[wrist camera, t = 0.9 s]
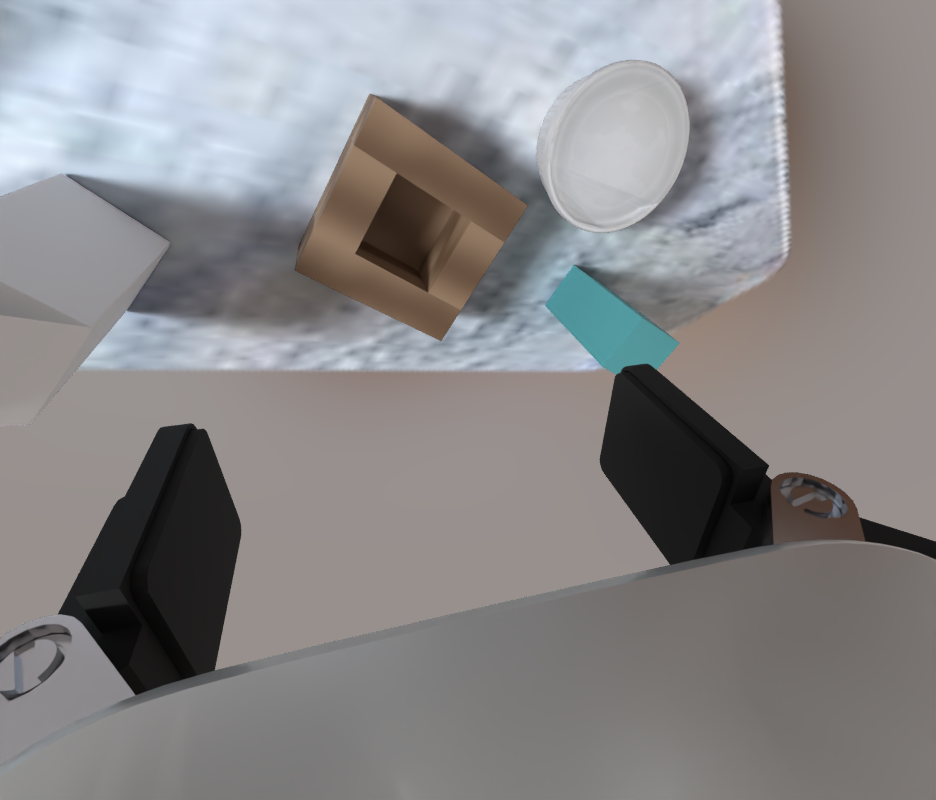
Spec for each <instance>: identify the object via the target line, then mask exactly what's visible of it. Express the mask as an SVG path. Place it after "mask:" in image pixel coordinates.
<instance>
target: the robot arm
mask: <svg viewBox="0 0 936 800" xmlns="http://www.w3.org/2000/svg"><path fill="white" fill-rule="evenodd" d="M600 465H601V468H602V471H603V472H604V474H605V475H606V477H607V478H608V479H609V481H610V482H611V483H612V485H613V486H614V488H615V489H616V490H617V492H618V493H619V494H620V496H621V497H622V499H623V500H624V501H625V503H626V504H627V505H628V507H629V508H630V510H631V511H632V512H633V514H634V515H635V517H636V518H637V519H638V521H639V522H640V524H641V525H642V526H643V528H644V529H645V530H646V532H647V533H648V535H649V536H650V537H651V539H652V540H653V541H654V543H655V544H656V546H657V547H658V548H659V550H660V551H661V552H662V554H663V555H664V557H665V558H666V559H667V561H668V562H669V564H670V565H668V566H664V567H659V568H655V569H650V570H646V571H641V572H637V573H632V574H628V575H623V576H619V577H614V578H609V579H605V580H600V581H596V582H592V583H587V584H582V585H578V586H573V587H569V588H564V589H560V590H556V591H551V592H547V593H542V594H538V595H533V596H529V597H524V598H520V599H516V600H511V601H507V602H503V603H498V604H494V605H490V606H485V607H481V608H476V609H472V610H467V611H463V612H459V613H455V614H450V615H445V616H441V617H437V618H432V619H428V620H424V621H419V622H415V623H411V624H407V625H403V626H398V627H394V628H389V629H385V630H381V631H376V632H372V633H368V634H363V635H359V636H355V637H350V638H346V639H342V640H337V641H333V642H329V643H324V644H320V645H316V646H312V647H307V648H303V649H299V650H296V651H292V652H288V653H283V654H279V655H275V656H271V657H267V658H263V659H260V660H255V661H251V662H247V663H243V664H239V665H235V666H231V667H227V668H223V669H219V670H215V665H216V661H217V655H218V650H219V645H220V640H221V635H222V630H223V625H224V620H225V615H226V610H227V604H228V599H229V594H230V589H231V584H232V579H233V574H234V569H235V563H236V559H237V553H238V548H239V543H240V539H241V524H240V519H239V517H238V514H237V511H236V508H235V506H234V503H233V500H232V498H231V495H230V493H229V490H228V487H227V485H226V482H225V479H224V476H223V474H222V471H221V468H220V466H219V463H218V460H217V458H216V455H215V452H214V450H213V447H212V444H211V441H210V439H209V436H208V434H207V432H206V430H205V429H198V430H197V428H196V427H195V426H194V424H183V425H175V426H168V427H162V428H160V429H159V430H158V432H157V434H156V436H155V438H154V440H153V442H152V444H151V446H150V448H149V450H148V452H147V454H146V456H145V458H144V460H143V462H142V464H141V466H140V468H139V470H138V472H137V474H136V476H135V478H134V480H133V482H132V483H131V486H130V488H129V489H128V491H127V493H126V495H125V497H123V498H121V499H119V500H118V501H117V503H116V504H115V505H114V507H113V509H112V511H111V513H110V515H109V517H108V518H107V520H106V522H105V524H104V526H103V528H102V530H101V532H100V534H99V536H98V538H97V540H96V542H95V544H94V546H93V547H92V549H91V551H90V553H89V555H88V557H87V559H86V561H85V563H84V565H83V567H82V569H81V571H80V573H79V574H78V577H77V579H76V580H75V582H74V584H73V586H72V588H71V590H70V592H69V594H68V596H67V598H66V600H65V602H64V603H63V605H62V607H61V609H60V611H59V613H58V615H52V616H45V617H41V618H38V619H35V620H32V621H29V622H26V623H24V624H22V625H20V626H18V627H16V628H15V629H13V630H11V631H9V632H7V633H5V634H4V635H3V636H1V637H0V800H936V542H935V541H932V540H929V539H926V538H923V537H919V536H916V535H913V534H910V533H907V532H904V531H900V530H897V529H894V528H891V527H888V526H885V525H882V524H878V523H875V522H872V521H869V520H866V519H862V518H860V517H859V514H858V510H857V508H856V506H855V504H854V502H853V500H852V499H851V498H850V497H849V496H848V495H847V494H846V493H845V492H844V491H842V490H841V489H840V488H838V487H837V486H835V485H834V484H832V483H830V482H827V481H826V480H824V479H821V478H818V477H815V476H812V475H808V474H803V473H798V472H789V473H783V474H779V475H777V476H776V477H775V478H773V479H772V480H771V479H770V478H769V477H768V476H767V475H766V471H767V469H768V467H769V465H768V464H767V463H765V462H764V461H763V460H762V459H761V458H759V456H757V455H756V454H755V453H754V452H752V451H751V450H750V449H749V448H748V447H747V446H745V445H744V444H743V443H742V442H741V441H740V440H738V439H737V438H736V437H735V436H734V435H732V434H731V433H730V432H729V431H728V430H727V429H726V428H724V427H723V426H722V425H721V424H720V423H718V422H717V421H716V420H715V419H714V418H713V417H711V416H710V415H709V414H708V413H707V412H705V411H704V410H703V409H702V408H701V407H700V406H698V405H697V404H696V403H695V402H694V401H692V400H691V399H690V398H689V397H688V396H686V395H685V394H684V393H683V392H682V391H681V390H679V389H678V388H677V387H676V386H675V385H674V384H672V383H671V382H670V381H669V380H668V379H667V378H665V377H664V376H663V375H662V374H661V373H659V372H658V371H657V370H656V369H655V368H654V367H652V366H651V365H649V364H639V365H631V366H625V367H624V368H623V369H622V370H621V373H618V374H617V375H616V376H615V380H614V385H613V390H612V396H611V402H610V407H609V412H608V418H607V423H606V428H605V433H604V439H603V445H602V450H601V455H600Z"/></svg>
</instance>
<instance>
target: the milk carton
mask: <svg viewBox="0 0 936 800" xmlns="http://www.w3.org/2000/svg"><path fill="white" fill-rule="evenodd" d="M169 245H170V242H169V241H167V240H166V239H164V238H163V237H161V236H160V235H158V234H156V233H155V232H153V231H152V230H150V229H149V228H147V227H145V226H144V225H142V224H141V223H139V222H138V221H136V220H134V219H133V218H131V217H130V216H128V215H127V214H125V213H123V212H122V211H120V210H119V209H117V208H116V207H114V206H112V205H111V204H109V203H108V202H106V201H105V200H103V199H101V198H100V197H98V196H97V195H95V194H94V193H92V192H90V191H89V190H87V189H86V188H84V187H83V186H81V185H79V184H78V183H76V182H75V181H73V180H72V179H70V178H68V177H67V176H65V175H64V174H58V175H56V176H53V177H50V178H48V179H45V180H42V181H40V182H37V183H34V184H32V185H29V186H26V187H24V188H21V189H18V190H16V191H13V192H11V193H8V194H5V195H3V196H0V426H15V425H16V426H18V425H30V424H31V423H32V422H33V421H34V420H35V419H36V417H37V416H38V415H39V414H40V413H41V412H42V411H43V409H44V408H45V407H46V406H47V405H48V403H49V402H50V401H51V400H52V399H53V397H54V396H55V395H56V394H57V393H58V392H59V390H60V389H61V388H62V387H63V386H64V384H65V383H66V382H67V381H68V380H69V378H70V377H71V376H72V375H73V374H74V372H75V371H76V370H77V369H78V368H79V367H80V365H81V364H82V363H83V362H84V361H85V359H86V358H87V357H88V356H89V355H90V354H91V352H92V351H93V350H94V349H95V348H96V346H97V345H98V344H99V343H100V342H101V340H102V339H103V338H104V337H105V336H106V335H107V333H108V332H109V331H110V330H111V329H112V327H113V326H114V325H115V324H116V323H117V321H118V320H119V319H120V318H121V317H122V316H123V314H124V313H125V312H126V311H127V309H128V308H129V306H130V305H131V303H132V302H133V300H134V299H135V297H136V296H137V294H138V293H139V291H140V290H141V288H142V287H143V285H144V284H145V282H146V281H147V279H148V278H149V276H150V275H151V273H152V272H153V270H154V269H155V267H156V266H157V264H158V263H159V261H160V260H161V258H162V257H163V255H164V253H165V252H166V250H167V249H168V247H169Z"/></svg>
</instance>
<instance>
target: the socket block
mask: <svg viewBox="0 0 936 800" xmlns="http://www.w3.org/2000/svg"><path fill="white" fill-rule="evenodd" d="M527 206H528V205H526V204H525V203H524V202H522V201H521V200H519V199H518V198H517V197H515V196H514V195H512V194H511V193H510V192H508V191H507V190H505V189H504V188H503V187H501V186H500V185H498V184H497V183H496V182H494V181H493V180H491V179H490V178H489V177H487V176H486V175H484V174H483V173H482V172H480V171H479V170H477V169H476V168H475V167H473V166H472V165H470V164H469V163H468V162H466V161H465V160H463V159H462V158H461V157H459V156H458V155H456V154H455V153H454V152H452V151H451V150H450V149H448V148H447V147H445V146H444V145H443V144H441V143H440V142H438V141H437V140H436V139H434V138H433V137H431V136H430V135H429V134H427V133H426V132H424V131H423V130H422V129H420V128H419V127H417V126H416V125H415V124H413V123H412V122H410V121H409V120H408V119H406V118H405V117H403V116H402V115H401V114H399V113H398V112H396V111H395V110H394V109H392V108H391V107H389V106H388V105H387V104H385V103H384V102H382V101H381V100H380V99H378V98H377V97H375V96H373V95H371V94H369V96H368V98H367V100H366V102H365V105H364V107H363V109H362V111H361V113H360V115H359V117H358V120H357V122H356V124H355V126H354V128H353V130H352V133H351V135H350V137H349V139H348V141H347V143H346V145H345V148H344V150H343V152H342V154H341V156H340V158H339V160H338V163H337V165H336V167H335V169H334V171H333V173H332V175H331V178H330V180H329V182H328V184H327V186H326V188H325V191H324V193H323V195H322V197H321V199H320V201H319V203H318V206H317V208H316V210H315V212H314V214H313V216H312V218H311V221H310V223H309V225H308V227H307V229H306V231H305V234H304V236H303V238H302V240H301V242H300V244H299V248H298V255H297V261H296V267H295V271H297V272H299V273H301V274H303V275H305V276H307V277H309V278H311V279H313V280H316V281H318V282H320V283H322V284H324V285H326V286H328V287H330V288H332V289H334V290H336V291H338V292H340V293H343V294H345V295H347V296H349V297H351V298H353V299H355V300H357V301H359V302H361V303H363V304H365V305H367V306H369V307H372V308H374V309H376V310H378V311H380V312H382V313H384V314H386V315H388V316H390V317H392V318H394V319H396V320H398V321H401V322H403V323H405V324H407V325H409V326H411V327H413V328H415V329H417V330H419V331H421V332H423V333H425V334H428V335H430V336H432V337H434V338H436V339H438V340H440V341H442V339H443V337H444V336H445V334H446V333H447V331H448V330H449V328H450V326H451V325H452V323H453V322H454V320H455V319H456V317H457V316H458V314H459V312H460V311H461V309H462V308H463V306H464V305H465V303H466V301H467V300H468V298H469V297H470V295H471V294H472V292H473V291H474V289H475V287H476V286H477V284H478V283H479V281H480V280H481V278H482V276H483V275H484V273H485V272H486V270H487V269H488V267H489V266H490V264H491V262H492V261H493V259H494V258H495V256H496V255H497V253H498V251H499V250H500V248H501V247H502V245H503V244H504V242H505V241H506V239H507V237H508V236H509V234H510V233H511V231H512V230H513V228H514V226H515V225H516V223H517V222H518V220H519V219H520V217H521V216H522V214H523V212H524V211H525V209H526V208H527Z"/></svg>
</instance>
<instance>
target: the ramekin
mask: <svg viewBox="0 0 936 800" xmlns="http://www.w3.org/2000/svg"><path fill="white" fill-rule="evenodd" d="M689 134H690V118H689V110H688V105H687V102H686V98H685V96H684V93H683V91H682V89H681V86H680V84H679V83H678V82H677V81H676V80H675V79H674V77H673V76H672V75H671V74H670V73H669V72H668V71H666V70H665V69H663V68H662V67H661V66H659V65H657V64H655V63H652V62H648V61H641V60H626V61H619V62H615V63H612V64H609V65H607V66H604V67H602V68H600V69H598V70H597V71H595V72H593V73H591V74H590V75H588V76H586V77H584V78H582V79H581V80H578V81H576V82H574V83H573V84H572V85H571V86H569V87H568V88H566V89H565V91H563V92H562V93H561V94H560V95H559V96H558V98H557V99H556V100H555V101H554V102H553V104H552V106H551V107H550V108H549V110H548V112H547V114H546V116H545V118H544V120H543V123H542V125H541V127H540V132H539V135H538V141H537V147H536V150H537V152H536V159H537V167H538V173H539V175H540V180H541V182H542V183H543V187H544V189H545V190H546V192H547V193H548V196H549V198H550V200H551V202H552V204H553V206H554V207H555V209H556V210H557V211H558V213H559V214H560V215H561V216H562V217H563V218H564V219H565V220H567V221H568V222H569V223H571V224H572V225H574V226H576V227H578V228H580V229H582V230H585V231H589V232H594V233H609V232H614V231H618V230H621V229H624V228H627V227H629V226H631V225H633V224H635V223H637V222H639V221H640V220H642V219H643V218H644V217H646V216H647V215H648V214H649V213H651V212H652V211H653V210H654V209H655V208H656V207H657V206H658V205H659V204H660V203H661V202H662V200H663V199H664V198H665V196H666V195H667V194H668V192H669V191H670V189H671V188H672V186H673V185H674V183H675V181H676V179H677V177H678V175H679V173H680V171H681V168H682V165H683V163H684V160H685V157H686V153H687V148H688V143H689Z"/></svg>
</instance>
